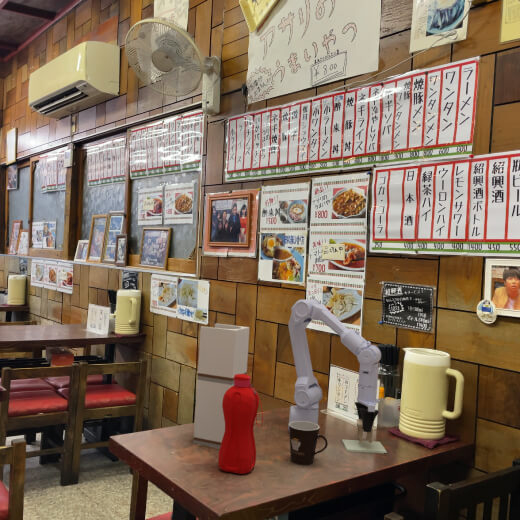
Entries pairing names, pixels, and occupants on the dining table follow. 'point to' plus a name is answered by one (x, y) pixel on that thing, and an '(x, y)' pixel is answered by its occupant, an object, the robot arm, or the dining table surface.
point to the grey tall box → (217, 378)
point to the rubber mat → (363, 446)
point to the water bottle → (239, 426)
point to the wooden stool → (360, 431)
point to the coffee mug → (304, 442)
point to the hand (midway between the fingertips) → (365, 428)
